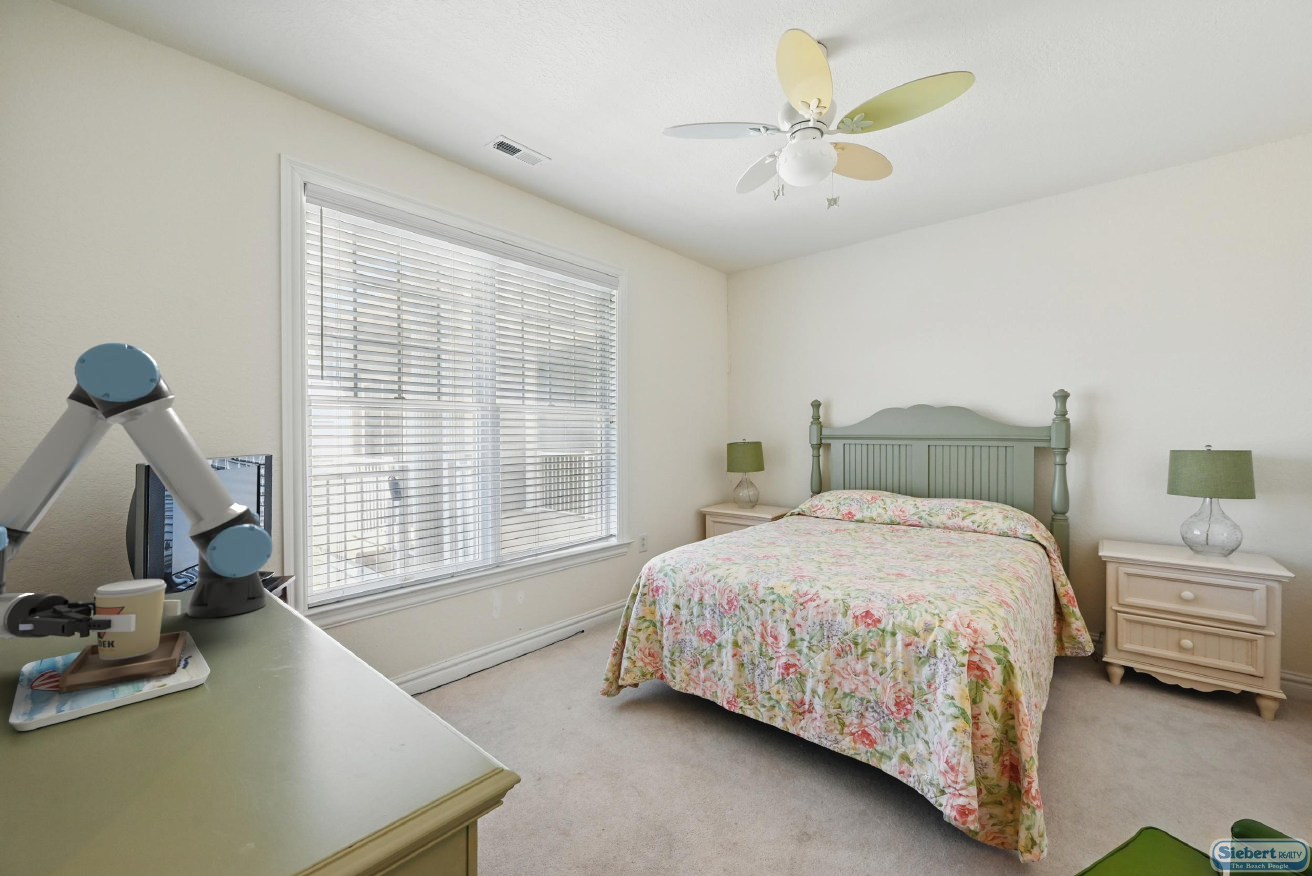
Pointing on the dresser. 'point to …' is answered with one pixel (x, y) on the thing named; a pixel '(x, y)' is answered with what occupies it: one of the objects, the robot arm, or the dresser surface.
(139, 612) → the coffee cup
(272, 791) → the dresser surface
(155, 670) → the walnut tray
